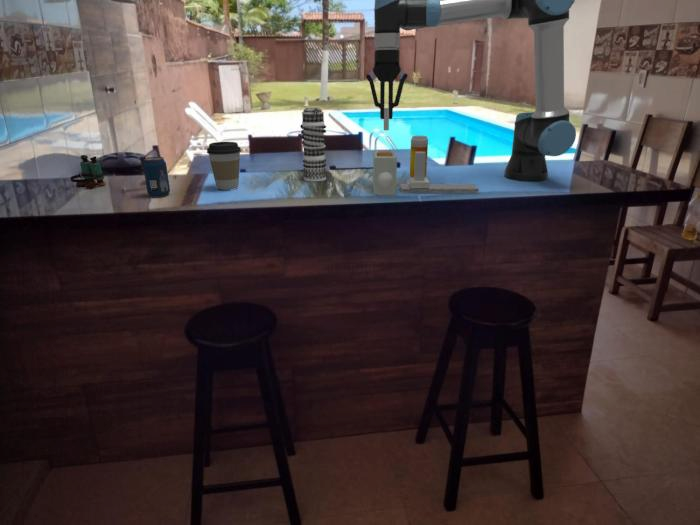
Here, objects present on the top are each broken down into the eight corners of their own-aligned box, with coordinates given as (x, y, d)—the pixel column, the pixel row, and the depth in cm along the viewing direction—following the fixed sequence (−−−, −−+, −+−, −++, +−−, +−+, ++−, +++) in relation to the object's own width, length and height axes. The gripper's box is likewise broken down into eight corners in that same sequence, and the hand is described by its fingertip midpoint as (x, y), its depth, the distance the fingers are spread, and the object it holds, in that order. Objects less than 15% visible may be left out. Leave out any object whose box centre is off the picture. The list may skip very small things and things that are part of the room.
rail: (473, 188, 169) (473, 183, 168) (478, 193, 162) (478, 188, 162) (399, 188, 169) (399, 184, 169) (401, 193, 163) (401, 189, 162)
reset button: (390, 165, 165) (390, 150, 163) (391, 168, 161) (391, 152, 159) (378, 165, 165) (378, 150, 163) (378, 168, 161) (378, 152, 159)
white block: (393, 186, 171) (394, 151, 167) (395, 195, 160) (397, 158, 155) (373, 186, 172) (373, 151, 167) (374, 195, 160) (374, 158, 156)
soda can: (153, 192, 166) (147, 156, 161) (173, 192, 165) (168, 156, 161) (144, 198, 159) (138, 160, 155) (165, 198, 159) (160, 160, 154)
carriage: (426, 183, 168) (428, 150, 164) (429, 188, 162) (431, 154, 158) (408, 183, 168) (410, 150, 164) (410, 188, 162) (412, 154, 158)
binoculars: (60, 161, 167) (85, 153, 175) (69, 190, 172) (93, 182, 180) (78, 162, 164) (103, 154, 172) (87, 193, 169) (111, 184, 177)
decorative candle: (318, 182, 178) (316, 109, 169) (297, 179, 183) (294, 108, 173) (332, 177, 185) (331, 107, 176) (312, 175, 190) (309, 106, 180)
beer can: (425, 180, 181) (427, 137, 175) (408, 179, 182) (410, 137, 176) (426, 176, 186) (428, 135, 181) (410, 175, 188) (411, 135, 182)
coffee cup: (229, 182, 179) (224, 140, 173) (251, 186, 173) (247, 142, 167) (203, 189, 170) (198, 144, 164) (226, 193, 164) (221, 147, 158)
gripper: (407, 49, 153) (405, 128, 162) (365, 49, 153) (365, 128, 162) (409, 48, 146) (407, 131, 155) (365, 49, 146) (365, 131, 155)
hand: (386, 129), depth 159 cm, fingers closed
